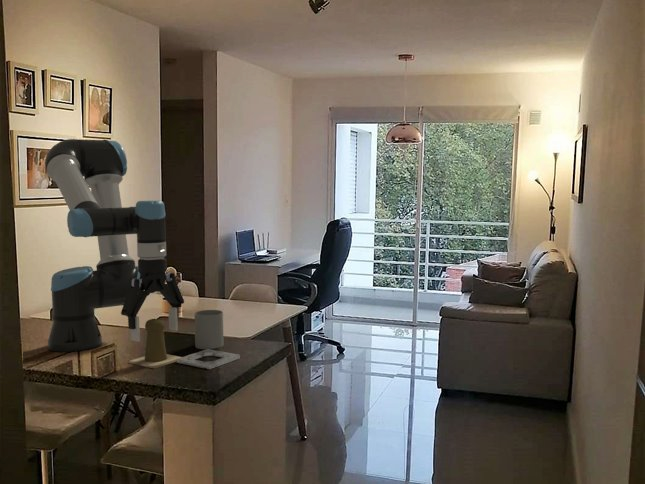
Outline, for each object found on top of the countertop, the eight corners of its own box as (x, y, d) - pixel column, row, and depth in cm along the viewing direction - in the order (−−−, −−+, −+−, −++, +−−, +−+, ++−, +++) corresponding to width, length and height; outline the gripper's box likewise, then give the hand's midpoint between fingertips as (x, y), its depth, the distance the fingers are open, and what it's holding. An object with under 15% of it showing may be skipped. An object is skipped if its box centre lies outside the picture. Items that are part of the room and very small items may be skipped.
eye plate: (177, 362, 170) (176, 359, 170) (207, 352, 180) (207, 348, 180) (209, 369, 164) (209, 365, 163) (239, 358, 174) (239, 354, 173)
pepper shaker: (172, 357, 173) (170, 318, 172) (155, 363, 167) (154, 322, 167) (156, 354, 176) (155, 316, 175) (139, 359, 171) (138, 320, 170)
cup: (217, 349, 183) (216, 316, 182) (190, 348, 184) (189, 315, 184) (227, 342, 191) (226, 310, 190) (202, 341, 193) (201, 309, 192)
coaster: (129, 362, 170) (129, 360, 170) (157, 354, 179) (157, 352, 178) (154, 368, 165) (154, 366, 165) (182, 359, 173) (182, 357, 173)
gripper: (124, 264, 157) (127, 347, 159) (195, 253, 177) (197, 327, 179) (104, 262, 161) (108, 343, 163) (176, 252, 181) (178, 324, 183)
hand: (155, 335), depth 171 cm, fingers open, 13 cm apart
